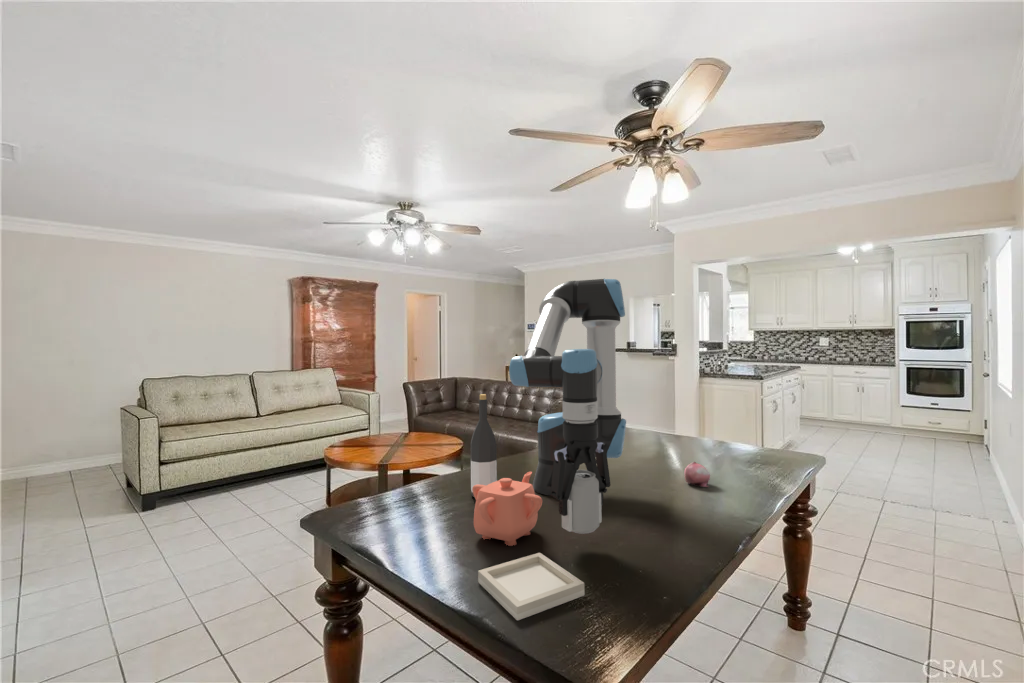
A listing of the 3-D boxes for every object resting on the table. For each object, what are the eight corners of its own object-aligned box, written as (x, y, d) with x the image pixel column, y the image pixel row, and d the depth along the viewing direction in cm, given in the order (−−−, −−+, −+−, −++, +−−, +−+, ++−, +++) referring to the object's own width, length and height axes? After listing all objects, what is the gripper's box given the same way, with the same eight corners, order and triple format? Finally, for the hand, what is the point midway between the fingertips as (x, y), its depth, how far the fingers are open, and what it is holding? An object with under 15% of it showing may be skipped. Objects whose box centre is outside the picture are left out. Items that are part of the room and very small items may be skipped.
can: (599, 536, 94) (598, 479, 94) (563, 534, 96) (562, 477, 95) (599, 521, 101) (598, 468, 101) (566, 519, 103) (565, 467, 103)
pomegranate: (685, 483, 147) (689, 461, 149) (711, 490, 143) (714, 467, 144) (679, 481, 141) (683, 458, 142) (706, 488, 136) (709, 464, 138)
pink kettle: (480, 554, 97) (479, 492, 97) (467, 525, 112) (467, 472, 112) (553, 544, 101) (553, 485, 101) (531, 518, 116) (531, 467, 117)
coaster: (478, 582, 85) (478, 570, 85) (539, 563, 92) (539, 552, 92) (517, 620, 73) (517, 606, 73) (584, 595, 80) (584, 582, 80)
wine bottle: (477, 501, 130) (476, 396, 130) (465, 493, 136) (464, 394, 137) (502, 496, 134) (501, 394, 134) (489, 489, 141) (488, 392, 141)
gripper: (552, 428, 90) (554, 543, 90) (626, 417, 100) (628, 520, 101) (531, 422, 96) (533, 529, 97) (603, 412, 107) (605, 509, 107)
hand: (581, 524), depth 99 cm, fingers closed on can, 7 cm apart
